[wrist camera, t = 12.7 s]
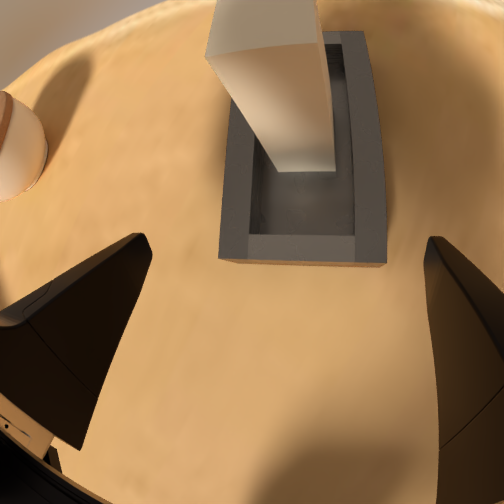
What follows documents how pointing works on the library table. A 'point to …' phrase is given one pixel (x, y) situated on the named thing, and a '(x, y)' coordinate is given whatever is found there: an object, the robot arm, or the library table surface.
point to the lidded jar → (19, 147)
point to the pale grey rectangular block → (277, 77)
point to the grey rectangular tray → (312, 182)
